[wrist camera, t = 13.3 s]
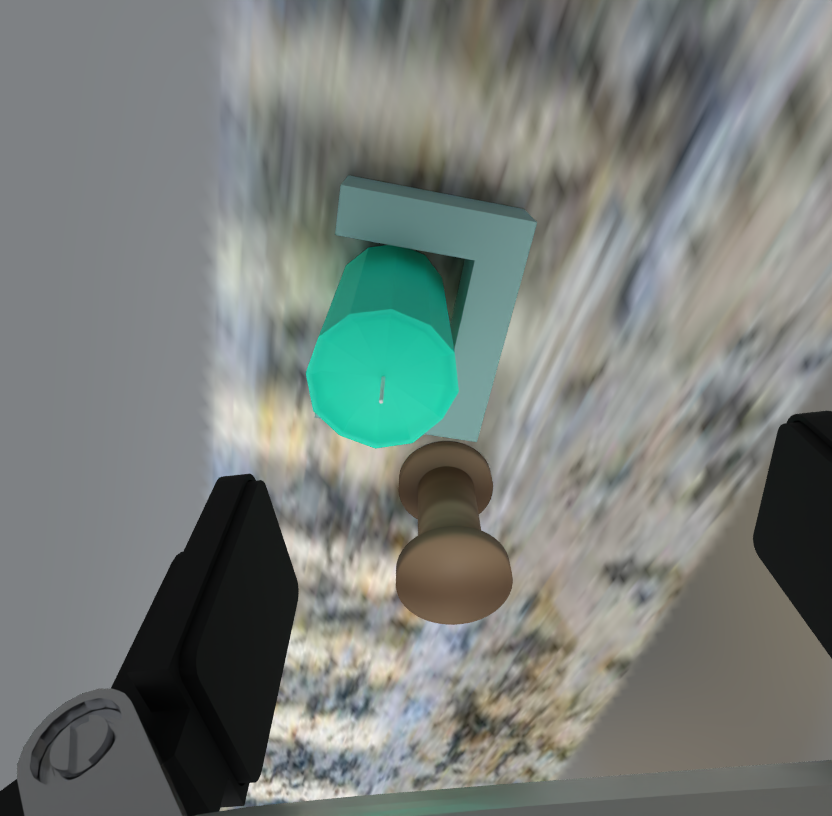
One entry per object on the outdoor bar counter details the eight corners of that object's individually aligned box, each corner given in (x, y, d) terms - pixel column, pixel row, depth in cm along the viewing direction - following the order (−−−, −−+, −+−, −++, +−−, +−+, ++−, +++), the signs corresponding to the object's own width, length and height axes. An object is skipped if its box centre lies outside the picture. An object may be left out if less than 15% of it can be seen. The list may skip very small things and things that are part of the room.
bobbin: (391, 448, 36) (385, 547, 28) (486, 435, 36) (507, 532, 28) (407, 521, 39) (406, 630, 31) (495, 510, 38) (516, 617, 31)
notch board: (348, 175, 28) (340, 184, 25) (523, 209, 29) (537, 222, 26) (323, 388, 34) (314, 417, 31) (470, 411, 35) (476, 442, 32)
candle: (364, 363, 33) (343, 488, 23) (317, 269, 30) (268, 360, 20) (461, 326, 32) (485, 439, 22) (421, 225, 29) (426, 297, 19)
